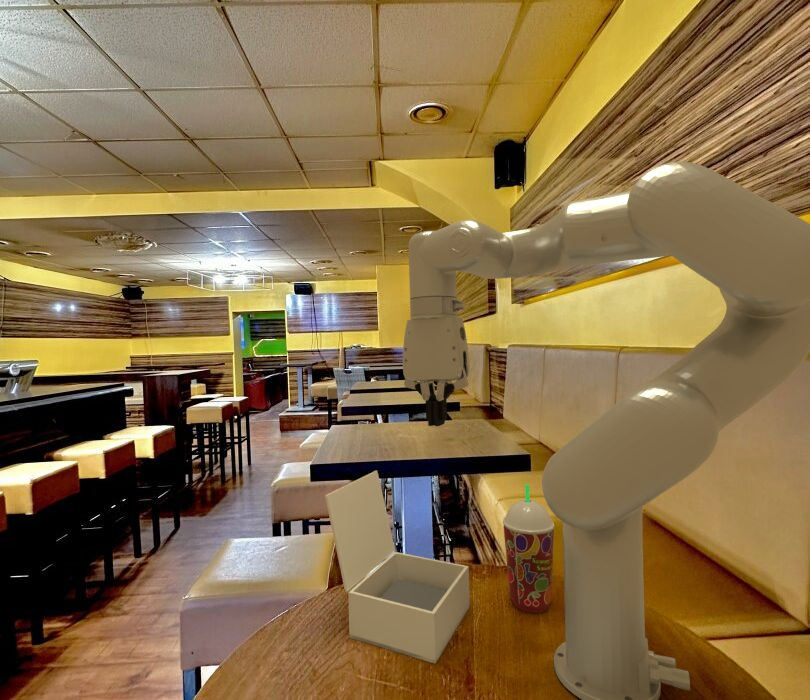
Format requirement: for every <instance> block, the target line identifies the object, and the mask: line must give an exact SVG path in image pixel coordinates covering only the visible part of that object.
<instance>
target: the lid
mask: <svg viewBox="0 0 810 700" xmlns="http://www.w3.org/2000/svg"><path fill="white" fill-rule="evenodd" d="M324 497H325V498H324V499H325V502H326V509H327V512H328V517H329V522H330V526H331V532H332V536H333V540H334V544H335V545H334V546H335V551H336V554H337V560H338V564H339V568H340V574H341V578H342V584H343V588H344V592H345V593H348V592H349V591H350V590H352V589H353V588H354V587H355V586H356V585H357V584H358V583H360V582H361V581H362V580H363V579H364V578H365V577H366V576H368V575H369V574H370V573H371V572H372V571H373V570H374V569H376V568H377V567H378V566H379V565H380V564H381V563H382V562H384V561H385V560H386V559H387V558H388V557H389V556H390V555H392V554H393V553H394V552H396V548H395V543H394V539H393V534H392V531H391V530H392V529H391V525H390V520H389V516H388V514H387V513H388V512H387V508H386V504H385V498H384V494H383V490H382V485H381V482H380V477H379V473H378V470H374V471H372V472H371V473H368V474H365V475H364V476H361V477H360V478H358V479H356V480H354V481H352V482H349V483H347V484H346V485H344V486H342V487H339V488H337V489H335V490H333V491H332V492H329V493H327V494H325V495H324Z"/></svg>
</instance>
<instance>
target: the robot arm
mask: <svg viewBox="0 0 810 700" xmlns="http://www.w3.org/2000/svg"><path fill="white" fill-rule="evenodd" d="M670 256H671V257H673V258H674V259H676V260H677V261H678V262H680V263H681V264H682V265H684V266H685V267H687V268H688V269H690V270H692V271H693V272H695V273H697V274H698V275H699V276H700V277H702V278H703V279H705V280H707V281H709V282H710V283H711V284H713V285H714V286H715V287H717V288H718V289H719V291H720V294H721V296H722V298H723V300H724V301H725V302H724V303H725V305H726V311H725V314H724V317H723V318H722V320H721V323H720V324H718V326H717V327H716V328H715V329H714V330H713V331H712V332H711V333H710V334H708V335H707V336H706V337H705V338H704V339H702V340H701V341H700V342H699V343H697V344H696V345H695V346H694V347H693V348H692V349H691V350H690V351H689V352H687V353H686V354H685V355H683V356H682V357H681V358H680V359H678V361H676V362H674V363H673V364H672V365H671V366H670V367H668V368H667V369H665V371H663V372H662V373H660V374H658V375H657V376H656V377H655V378H653V379H650V380H649V381H646V382H644V383H642V384H641V385H639V386H637V387H636V388H634V389H633V390H632V391H630V392H629V393H627V394H626V395H625V396H624V397H622V398H621V399H620V400H619V401H617V402H616V403H615V404H614V405H613V406H612V407H610V408H609V409H608V410H607V411H606V412H604V413H603V414H602V415H601V416H599V417H598V418H596V419H595V420H594V421H593V422H592V423H591V424H589V425H588V426H587V427H585V428H584V429H583V430H582V431H581V432H579V433H578V434H577V435H576V436H574V437H573V438H572V439H571V440H569V441H568V442H567V443H566V444H565V445H563V446H562V447H561V448H560V449H558V450H557V451H555V453H554V454H552V455H551V457H550V458H549V459H548V461H547V463H546V465H545V466H544V469H543V472H542V479H541V488H542V489H541V491H542V495H543V498H544V500H545V502H546V505H547V506H548V508H549V510H550V511H551V512H552V513H553V515H555V517H556V518H558V519H559V520H560V521H562V551H563V552H562V553H563V554H562V557H563V558H562V559H563V587H564V588H563V589H564V590H563V592H564V593H563V594H564V596H563V597H564V622H565V623H564V625H565V628H564V630H565V641H564V642H562V643H561V644H560V645H558V647H556V650H555V652H554V656H553V664H554V665H553V667H554V671H555V674H556V676H557V678H558V679H559V681H560V682H561V683H562V684H563V686H564V687H565V688H566V689H567V690H568V691H569V692H571V694H573V695H574V696H575V697H577V698H579V699H581V700H659V698H660V697H661V688H662V686H661V684H665V685H669V686H672V687H674V688H678V689H682V690H686V691H689V692H690V691H691V679H690V672H689V671H688V670H683V669H680V668H677V665H676V658H675V657H670V656H667V655H659V654H656V653H655V652H654V650H653V651H652V650H649V643H648V642H649V640H648V637H646V630H645V629H646V628H645V625H646V623H645V594H644V593H645V591H644V588H645V587H644V553H643V552H644V548H643V546H644V545H643V507H644V506H646V505H647V504H649V503H650V502H652V501H654V500H655V499H656V498H658V497H659V496H661V495H662V494H664V493H665V492H667V491H668V490H670V489H671V488H672V487H674V486H676V485H677V484H679V483H680V482H681V481H683V480H684V479H686V478H688V476H690V475H692V474H693V473H694V472H695V471H697V470H698V469H700V467H701V466H702V465H703V464H705V462H706V461H707V460H708V459H709V458H710V457H711V455H712V454H713V451H714V450H715V448H716V446H717V443H718V440H719V439H718V438H719V434H720V432H721V431H722V430H723V429H724V428H726V426H728V425H730V424H731V423H732V422H734V421H735V420H736V419H737V418H740V416H742V415H743V414H745V412H747V411H749V410H750V409H751V408H752V407H754V406H755V405H756V404H758V403H759V402H761V400H762V399H764V398H765V397H766V396H768V395H769V394H771V393H772V392H773V391H775V390H776V389H778V388H779V387H780V386H781V385H782V384H783V383H785V382H786V381H787V380H788V379H789V378H790V377H791V376H793V374H794V373H796V371H797V370H798V369H799V368H800V367H801V366H802V365H803V364H804V362H805V360H806V359H807V357H808V356H809V354H810V223H809V222H807V221H806V220H805V219H802V218H801V217H799V216H797V215H796V214H794V213H793V212H790V211H788V210H786V209H784V208H782V207H781V206H779V205H777V204H775V203H773V202H771V201H770V200H768V199H766V198H764V197H762V196H760V195H758V194H756V193H755V192H753V191H751V190H750V189H748V188H746V187H744V186H742V185H741V184H739V183H737V182H735V181H733V180H731V179H729V178H727V177H726V176H724V175H722V174H720V173H719V172H717V171H714V170H713V169H711V168H708V167H706V166H704V165H701V164H697V163H694V162H690V161H672V162H671V161H670V162H667V163H661V164H660V165H658V166H656V167H654V168H652V169H650V170H649V171H646V172H645V173H644V174H643V175H642V176H641V177H640V178H638V180H636V182H635V183H634V185H633V186H632V188H631V189H630V190H627V191H622V192H616V193H612V194H611V193H610V194H606V195H605V194H604V195H602V196H601V195H600V196H596V197H595V196H594V197H590V198H584V199H578V200H574V201H573V200H571V201H570V202H567V203H566V204H564V205H563V206H562V207H561V208H560V209H559V211H558V213H556V215H555V216H554V217H552V219H550V220H548V221H547V222H546V223H543V224H540V225H537V226H534V227H530V228H524V229H519V230H513V231H506V232H500V231H498V230H496V229H494V228H493V227H490V226H489V225H487V224H485V223H483V222H481V221H479V220H475V219H461V220H459V221H456V222H454V223H452V224H449V225H447V226H444V227H442V228H440V229H437V230H426V231H421V232H418V233H415V234H413V235H412V236H411V237H410V239H409V241H408V266H409V267H408V273H409V275H408V276H409V278H408V279H409V313H410V314H409V315H410V319H407V320H406V325H405V330H404V337H403V347H402V372H403V377H404V383H403V385H404V387H405V388H408V389H411V390H415V391H417V393H419V394H420V396H421V398H422V400H424V401H425V418H426V420H427V423H428V424H427V425H428V427H433V426H434V427H440V426H442V425H445V421H446V420H447V418H448V410H447V409H448V407H447V400H448V399H449V398H450V397H451V395H452V394H453V393H454V392H455V391H456V390H460V389H464V388H468V387H469V384H470V383H469V379H468V377H469V375H470V356H469V347H468V339H467V333H466V328H465V327H466V326H465V324H464V320H463V318H462V317H458V315H459V311H463V310H466V302H465V301H464V300H463V301H462V300H461V301H460V300H459V298H458V294H457V292H458V291H457V272H461V273H465V274H469V275H474V276H477V277H479V278H483V279H489V280H495V279H497V280H499V279H510V278H519V277H528V276H537V275H541V274H546V273H552V272H557V271H563V270H567V269H570V268H573V267H574V268H575V267H581V266H590V265H598V264H599V265H600V264H607V263H617V262H625V261H636V260H643V259H644V260H645V259H652V258H653V259H654V258H663V257H670ZM454 381H455V382H454ZM434 382H437V384H436V385H437V386H436V389H435V383H434Z"/></svg>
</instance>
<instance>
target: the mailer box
mask: <svg viewBox="0 0 810 700" xmlns="http://www.w3.org/2000/svg"><path fill="white" fill-rule="evenodd" d="M347 593H348V595H347V596H348V624H349V625H348V627H349V628H348V631H349V634H348V635H349V638H350V639H353V640H355V641H356V640H357V641H360V642H363V643H366V644H369V645H372V646H376V647H378V648H382V649H386V650H389V651H391V652H396V653H398V654H402V655H405V656H409V657H411V658H415V659H418V660H422V661H424V662H427V663H432V664H436V663H437V662H438V661H439V658H441V656H442V653H444V651H445V649H446V647H447V646H448V643H450V640H451V639H452V637H453V636H454V633H456V631H457V629H458V628H459V626H460V624H461V622H462V621H463V619H464V618H465V616H466V614H467V613H468V612H469V609H470V607H471V606H470V605H471V604H470V603H471V601H470V600H471V599H470V567H469V566H468V565H465V564H459V563H455V562H448V561H444V560H439V559H433V558H427V557H424V556H417V555H413V554H408V553H403V552H397V551H394V552H392V553H391V554H390V555H389V556H388V557H387V558H386V559H384V560H383V561H382V562H381V563H380V564H379V565H378V566H376V567H375V568H374V569H373V570H372V571H371V572H370V573H368V574H367V575H366V576H365V577H364V578H363V579H362V580H360V581H359V582H358V583H357V584H356V585H355V586H354V587H352V588H351V589H350V590H349V591H348V592H347Z"/></svg>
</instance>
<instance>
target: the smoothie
mask: <svg viewBox="0 0 810 700" xmlns="http://www.w3.org/2000/svg"><path fill="white" fill-rule="evenodd" d="M524 489H525V493H524V494H525V495H524V496H525V499H522V500H519V501H517V502H515V503H513V504H512V505H511V506H510V507H509V509H508V510H507V512H506V515H505V517H503V519H502V524H503V535H504V545H505V556H506V558H505V559H506V567H507V568H506V569H507V579H508V591H509V592H508V593H509V597H510V598H511V599H512V603H513V605H514V606H515V607H516V608H517V609H518V610H521V611H522V612H526V613H531V614H534V613H535V614H538V613H542V612H544V611H547V609H548V607H549V604H550V603H551V601H552V595H553V594H552V591H553V589H552V588H553V587H552V586H553V563H554V561H553V559H554V558H553V557H554V533H555V532H554V530H555V523H554V521H553V520H552V518H551V516H550V514H549V512H548V511H547V509H545V507H544V506H543V505H541V504H540V503H539V502H538V501H537V502H536V501H534V500H530V499H531V497H530V484H528V483H527V484H525V485H524Z"/></svg>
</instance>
